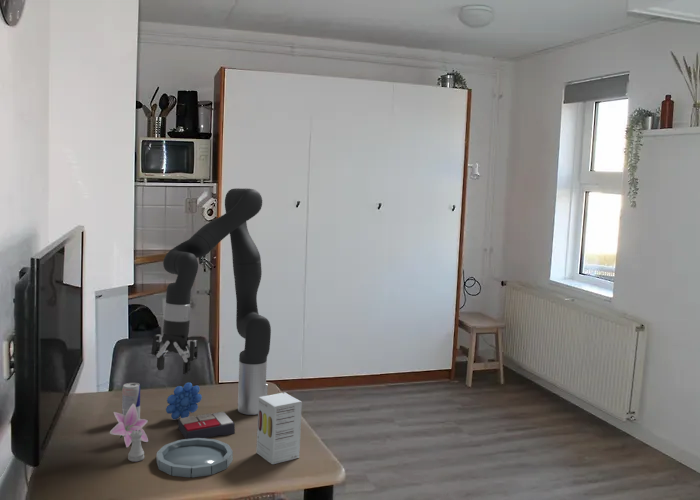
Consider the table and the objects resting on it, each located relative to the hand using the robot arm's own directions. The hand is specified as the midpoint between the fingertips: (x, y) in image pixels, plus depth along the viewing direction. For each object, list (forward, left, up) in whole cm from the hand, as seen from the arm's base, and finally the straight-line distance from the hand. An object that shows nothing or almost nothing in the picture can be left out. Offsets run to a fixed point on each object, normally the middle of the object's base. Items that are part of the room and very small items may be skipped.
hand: (173, 371), depth 199 cm
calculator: (-11, -2, -21) cm, 23 cm away
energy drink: (+10, -16, -20) cm, 28 cm away
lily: (+12, 0, -20) cm, 24 cm away
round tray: (-4, +19, -20) cm, 28 cm away
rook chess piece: (+11, +13, -20) cm, 27 cm away
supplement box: (-27, +22, -20) cm, 40 cm away
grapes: (-6, -15, -20) cm, 26 cm away
